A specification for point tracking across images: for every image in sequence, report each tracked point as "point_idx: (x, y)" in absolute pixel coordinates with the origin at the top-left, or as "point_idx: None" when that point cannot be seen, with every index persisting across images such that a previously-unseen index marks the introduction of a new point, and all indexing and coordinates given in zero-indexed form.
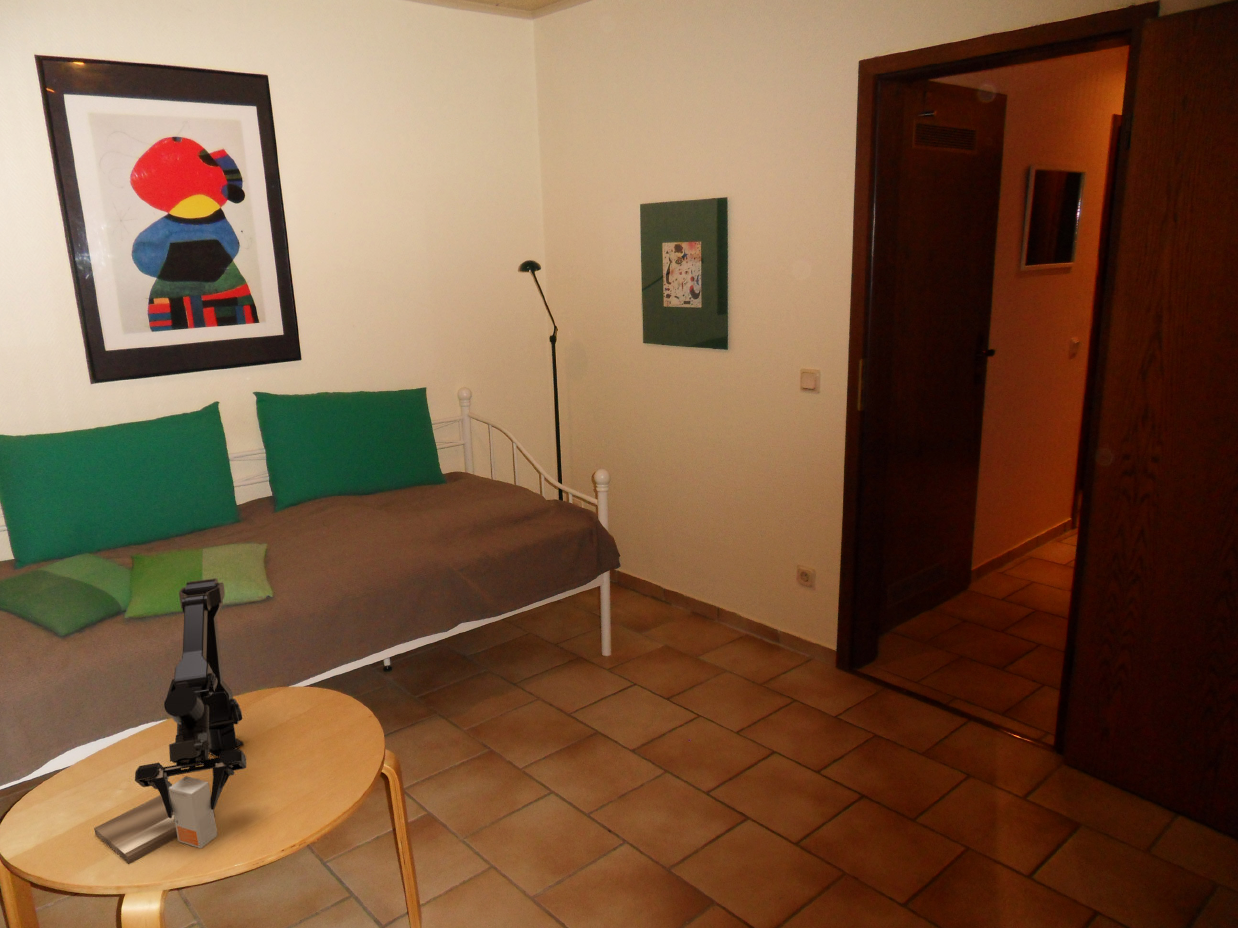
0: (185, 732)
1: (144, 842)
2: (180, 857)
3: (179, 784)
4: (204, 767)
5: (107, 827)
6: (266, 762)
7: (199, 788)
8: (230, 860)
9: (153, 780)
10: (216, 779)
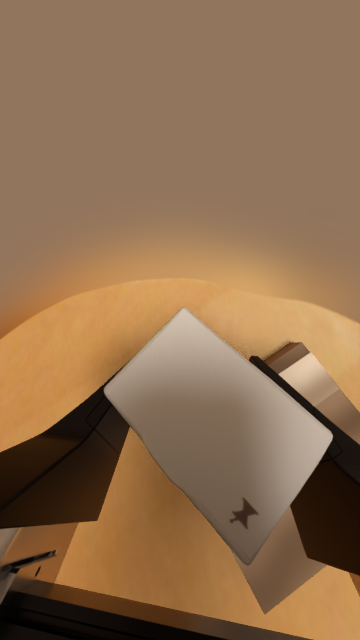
0: None
1: (283, 372)
2: (214, 326)
3: (269, 443)
4: (101, 635)
5: None
6: None
7: (147, 343)
8: (146, 291)
9: None
10: (78, 427)
